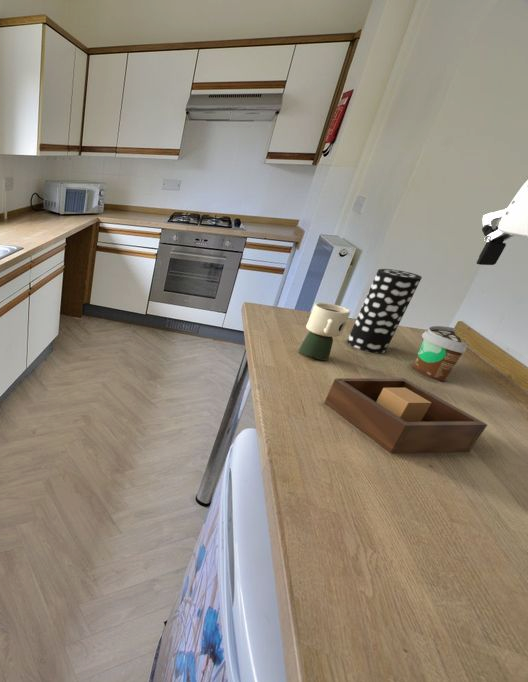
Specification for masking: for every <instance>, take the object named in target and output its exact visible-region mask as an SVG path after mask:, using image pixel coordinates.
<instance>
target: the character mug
mask: <svg viewBox="0 0 528 682" xmlns="http://www.w3.org/2000/svg"><path fill="white" fill-rule="evenodd" d="M350 314H351V310H350V309H348V308H347V307H344V306H341V305H338V304H334V303H330V302H316V303H314V304H313V308H312V310H311V312H310V315H309V318H308V320H307V323H306V326H305V329H306V330H307V331H309V332H308V333H307V334H306V336H305V338H304V340H303V341H302V343H301V344H300V347H299V349H298V351H299V353H301V354H302V355H305V356H307V357H310V358H312V359H318V360H322V361H327V360H329V358H330V355H331V351H332V347H333V342H334V339H333V337H335V338H337V337H339V336H341V335H342V333H343V331H344V329H345V326H346V325H347V321H348V319H349V317H350Z"/></svg>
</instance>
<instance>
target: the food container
mask: <svg viewBox="0 0 528 682" xmlns="http://www.w3.org/2000/svg"><path fill="white" fill-rule="evenodd" d="M456 331H457V328H456V327H450V326H441V325H434V326H430V327H429V328H427V329H426V330H425V331H424V332H422V334H421V337H422V339H423V341H422V343H421V345H420V348H419V350H418V352H417V355H416V357H415V360H414V361H413V365H412V369H413V370H414V371H415V372H417V373H418V374H420V375H422V376H424V377H427V378H429V379H432V380H435V381H437V382H442V383H445V382H446V380H447V379H448V377H449V375H450V374H451V372H452V370H453V369H454V367H455V366H456V364H457V363H458V361H459V360H460V358H461V356H462V355H463V354H465V351H467V348H468V345H469V344H468V343H465V342H462V340H461V339H462V338H461V337H460V336H458V335H457V334H456Z"/></svg>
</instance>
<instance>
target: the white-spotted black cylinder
mask: <svg viewBox="0 0 528 682" xmlns="http://www.w3.org/2000/svg"><path fill="white" fill-rule="evenodd" d="M422 278H423V277H422V275H419V274H417V273H413V272H409V271H404V270H398V269H390V268H379V269H377V272H376V274H375V277H374V279H373V281H372V283H371V285H370V288H369V290H368V292H367V294H366V297H365V299H364V302H363V304H362V306H361V308H360V309H359V310H360V311H359V313H358V315H357V318H356V320H355V322H354V324H353V327H352V329H351V331H350V333H349V335H348V338H347V340H346V342H347V344H348V345H350V346H351V347H353V348H356V349H358V350H360V351H364V352H368V353H375V354H383V353H386V352H387V349H388V347H389V345H390V344H391V341H392V339H393V337H394V335H395V333H396V331H397V329H398V327H399V326H400V323H401V321H402V320H403V317H404V315H405V313H406V312H407V309H408V306H409V305H410V303H411V300H412V298H413V297H414V294H415V293H416V291H417V289H418V287H419V284H420V282H421V280H422Z"/></svg>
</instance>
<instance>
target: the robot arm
mask: <svg viewBox="0 0 528 682" xmlns="http://www.w3.org/2000/svg"><path fill="white" fill-rule="evenodd" d="M498 221H499V223H498ZM497 224H498V225H497ZM482 226H483V227H482V228H481V232H482V233H483V235H484V238H483V241H484V242H486V243H485V244H484V247H483V248H482V250H481V252H480V254H479V256H478V259H477V260H476V265H481V266H494V265H496V264H497V263H498V260H499V258H500V257H501V255H502V253H503V252H504V251H505V248H506V246H507V243H506V242H505V241H506V240H509V239H511V238H512V237H514V236H516V237H522V238H527V239H528V179H527V180H526V181H525V182H524V183H523V185H522V186H521V187H520V189H519V190H518V191H517V193H516V194H515V195H514V197H513V198H512V200H511V201H510V203H509V204H508V206H507V208H504V209H501V210H496V211H493V212H488V213H486V214H484V215H483V216H482Z"/></svg>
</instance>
